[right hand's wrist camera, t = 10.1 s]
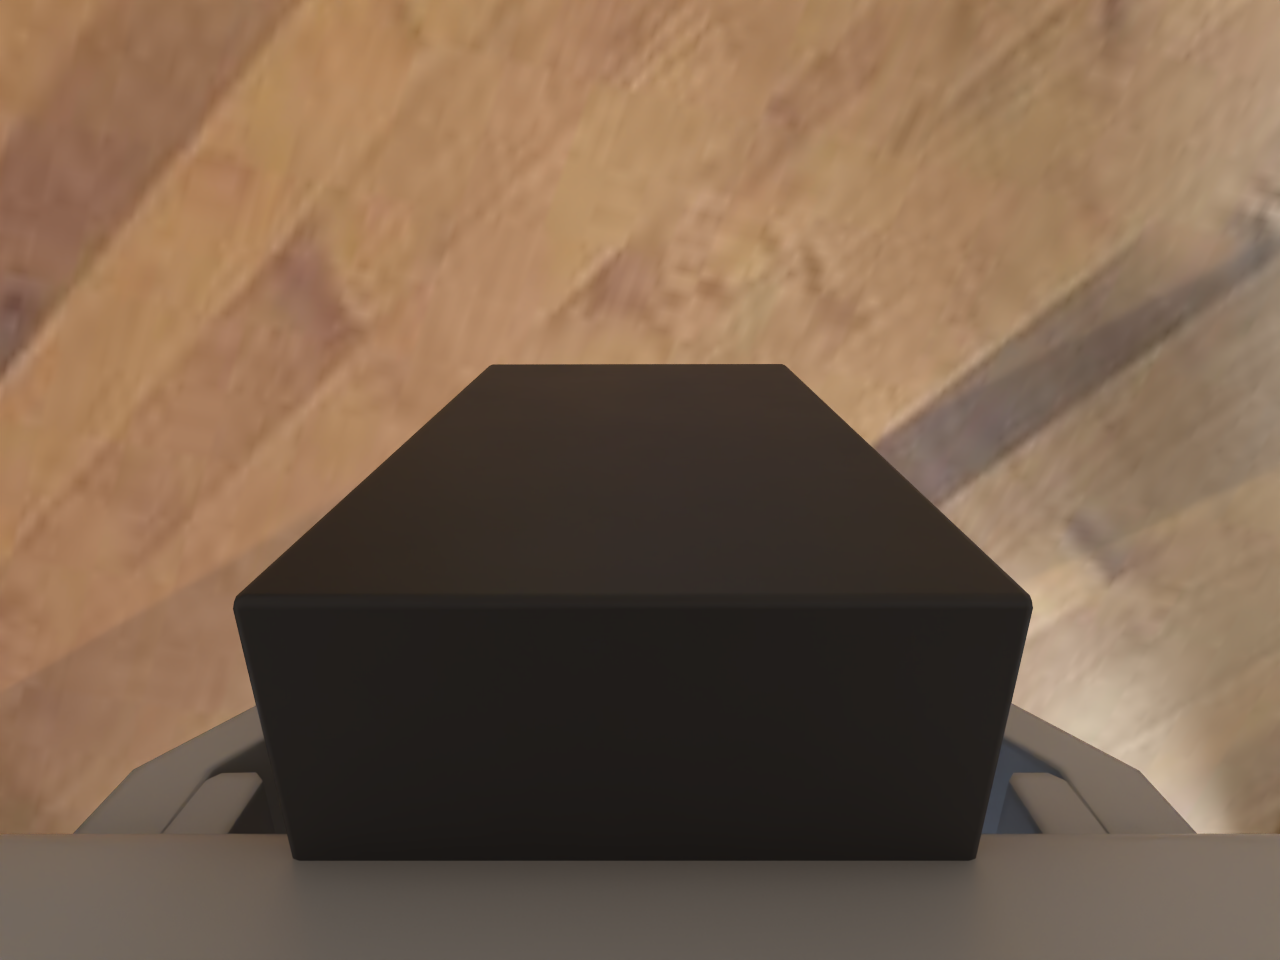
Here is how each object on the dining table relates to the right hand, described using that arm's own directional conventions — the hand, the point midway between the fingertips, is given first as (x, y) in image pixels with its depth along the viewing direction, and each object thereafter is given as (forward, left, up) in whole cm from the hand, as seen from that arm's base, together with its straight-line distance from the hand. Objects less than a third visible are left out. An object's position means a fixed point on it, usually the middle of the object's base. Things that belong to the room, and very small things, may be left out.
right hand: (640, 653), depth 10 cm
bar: (-10, +3, -3) cm, 10 cm away
